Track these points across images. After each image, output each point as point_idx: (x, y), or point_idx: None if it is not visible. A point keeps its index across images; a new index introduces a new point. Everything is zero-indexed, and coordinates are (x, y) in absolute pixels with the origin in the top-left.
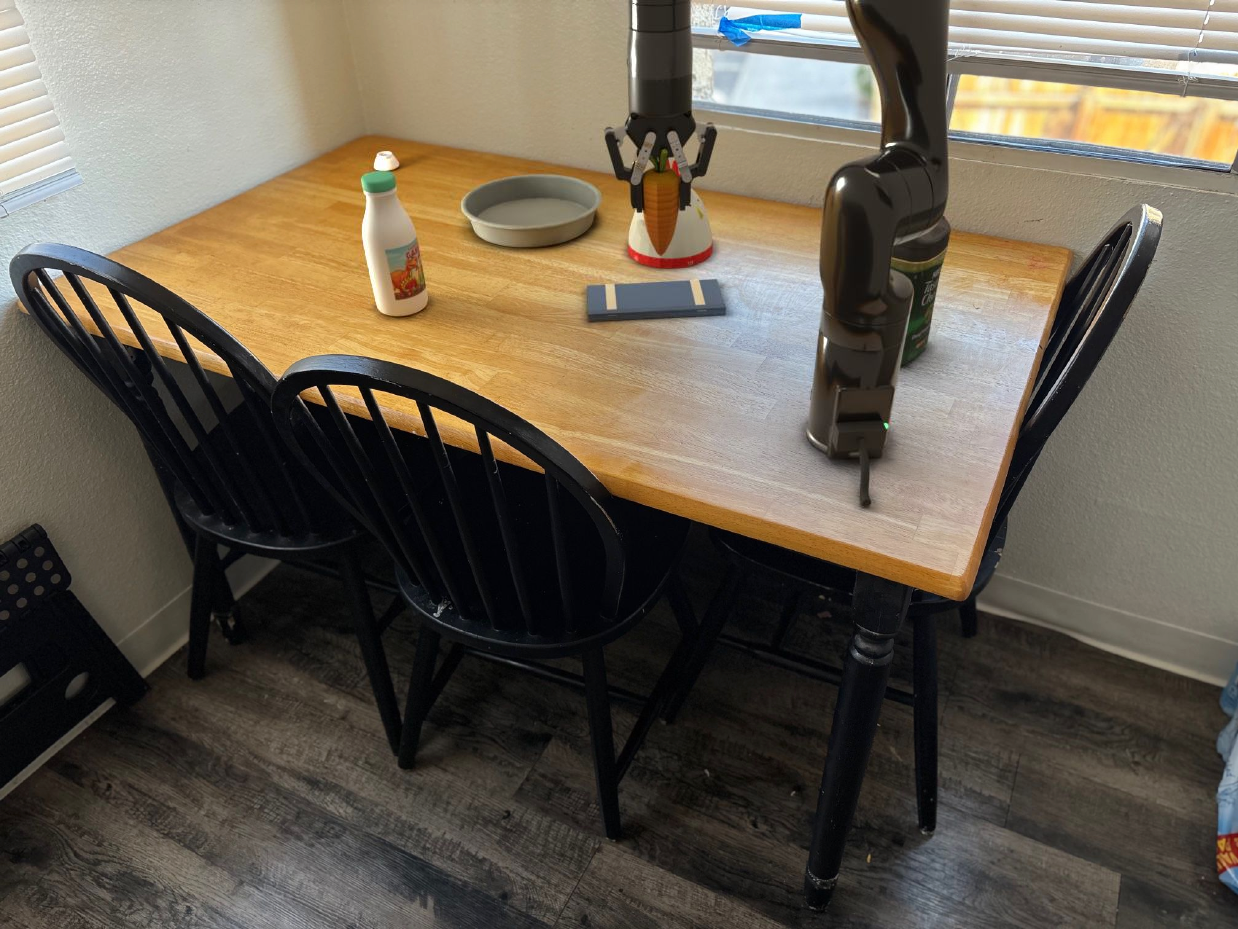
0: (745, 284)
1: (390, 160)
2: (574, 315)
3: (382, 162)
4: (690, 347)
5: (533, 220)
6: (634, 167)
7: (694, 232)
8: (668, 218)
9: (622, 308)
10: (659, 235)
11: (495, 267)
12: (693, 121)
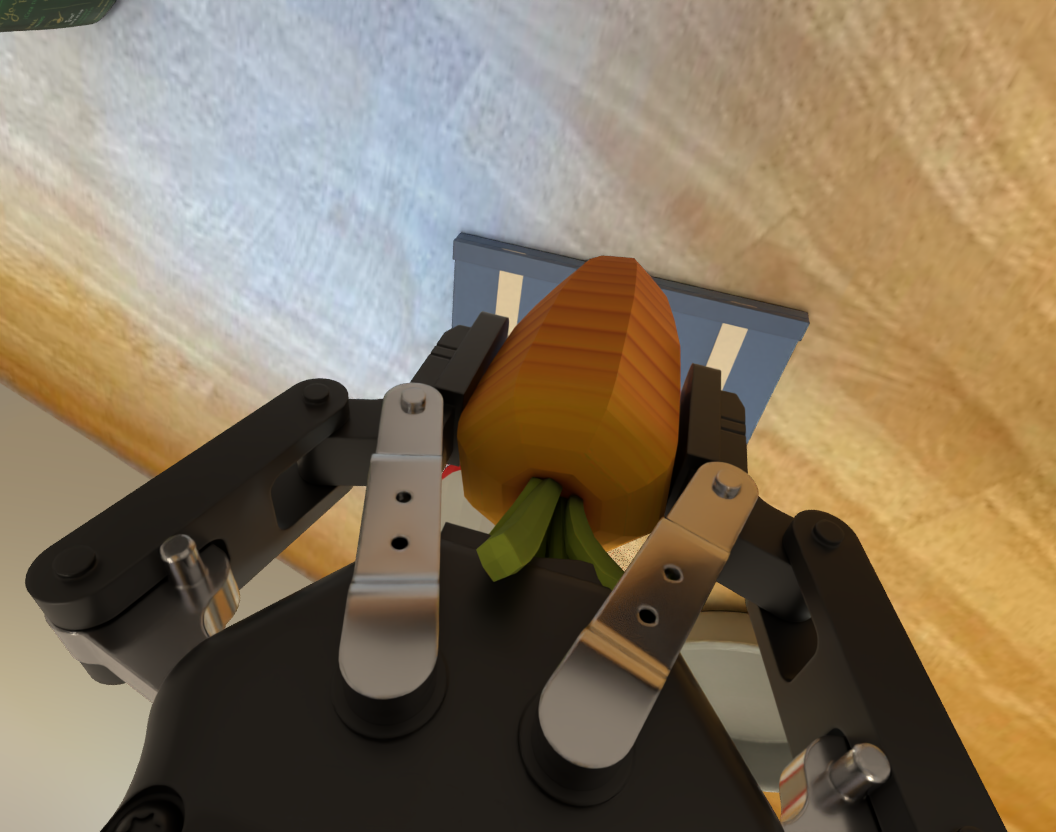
0: (394, 345)
1: None
2: (828, 353)
3: None
4: (590, 87)
5: (736, 684)
6: (730, 551)
7: (459, 506)
8: (578, 285)
9: (704, 328)
10: (631, 265)
11: (898, 591)
12: (154, 721)
